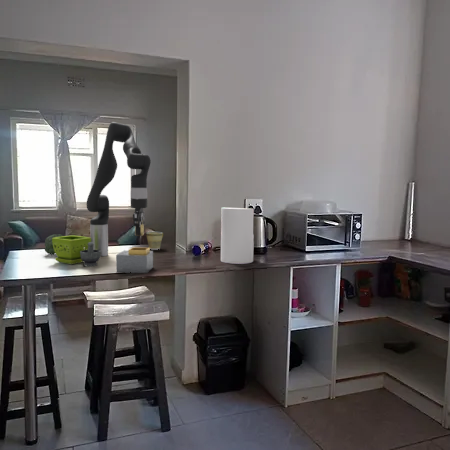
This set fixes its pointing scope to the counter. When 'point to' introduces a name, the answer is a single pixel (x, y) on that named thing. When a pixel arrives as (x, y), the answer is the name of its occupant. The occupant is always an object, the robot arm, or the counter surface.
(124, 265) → the grey box
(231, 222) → the cylinder
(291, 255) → the counter surface
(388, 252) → the counter surface
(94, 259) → the mortar and pestle
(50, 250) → the vegetable
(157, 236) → the ceramic cup
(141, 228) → the pellet
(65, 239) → the flower pot
